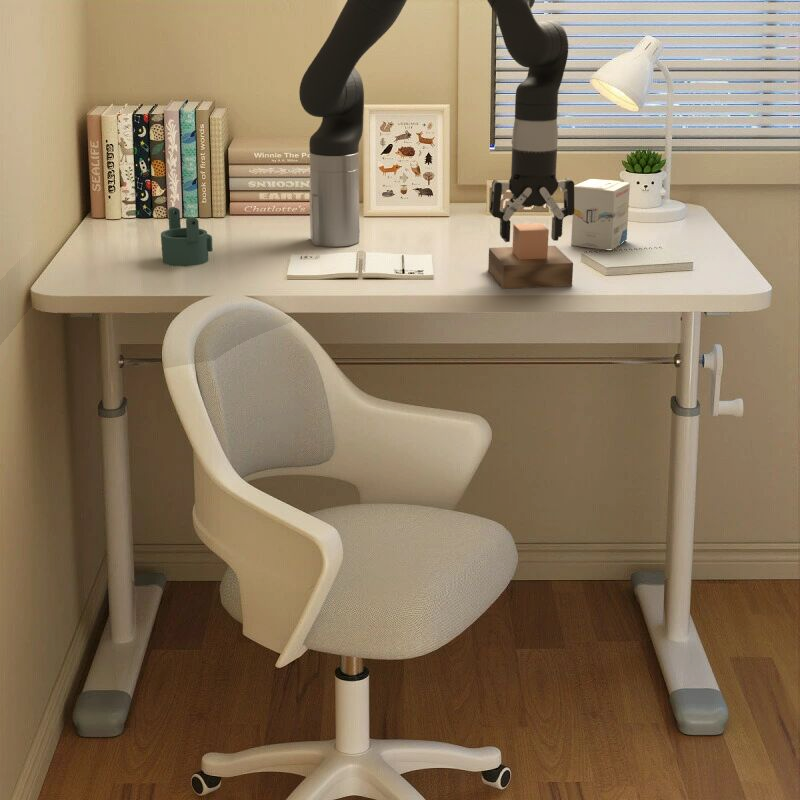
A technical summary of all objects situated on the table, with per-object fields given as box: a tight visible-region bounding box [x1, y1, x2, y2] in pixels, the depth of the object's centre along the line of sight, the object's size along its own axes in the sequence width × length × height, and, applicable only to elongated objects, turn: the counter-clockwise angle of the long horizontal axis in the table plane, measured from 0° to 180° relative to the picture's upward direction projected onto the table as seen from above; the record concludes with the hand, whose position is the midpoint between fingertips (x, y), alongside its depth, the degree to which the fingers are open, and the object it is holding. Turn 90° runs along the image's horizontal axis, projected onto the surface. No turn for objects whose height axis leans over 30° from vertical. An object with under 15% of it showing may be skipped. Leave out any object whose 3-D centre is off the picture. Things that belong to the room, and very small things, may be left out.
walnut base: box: [487, 245, 574, 289], centre depth 217 cm, size 12×12×4 cm
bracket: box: [160, 206, 213, 267], centre depth 227 cm, size 9×9×9 cm
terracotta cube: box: [512, 222, 550, 259], centre depth 215 cm, size 5×5×5 cm
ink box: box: [570, 178, 631, 250], centre depth 238 cm, size 9×8×12 cm
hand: (530, 240), depth 215 cm, fingers open, 8 cm apart
